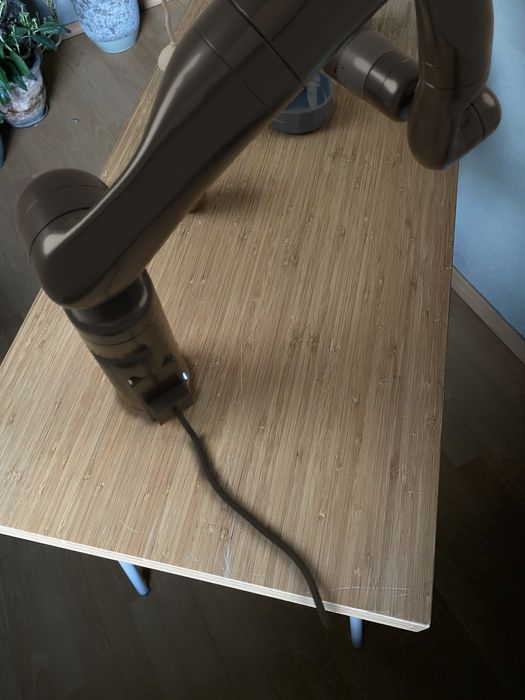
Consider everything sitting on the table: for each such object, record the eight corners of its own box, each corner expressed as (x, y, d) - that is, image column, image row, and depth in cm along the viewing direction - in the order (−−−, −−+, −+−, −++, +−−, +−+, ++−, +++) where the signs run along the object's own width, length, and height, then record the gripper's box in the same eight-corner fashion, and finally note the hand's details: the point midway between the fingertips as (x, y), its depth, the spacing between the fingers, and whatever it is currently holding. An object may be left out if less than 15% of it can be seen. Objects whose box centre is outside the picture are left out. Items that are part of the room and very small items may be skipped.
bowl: (348, 114, 100) (349, 91, 97) (290, 146, 98) (289, 123, 94) (305, 80, 106) (305, 57, 102) (249, 109, 103) (246, 86, 99)
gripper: (409, 10, 74) (326, -41, 82) (317, 56, 71) (240, -2, 79) (402, 65, 81) (326, 13, 89) (317, 110, 77) (247, 51, 85)
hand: (286, 6), depth 84 cm, fingers closed on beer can, 4 cm apart
